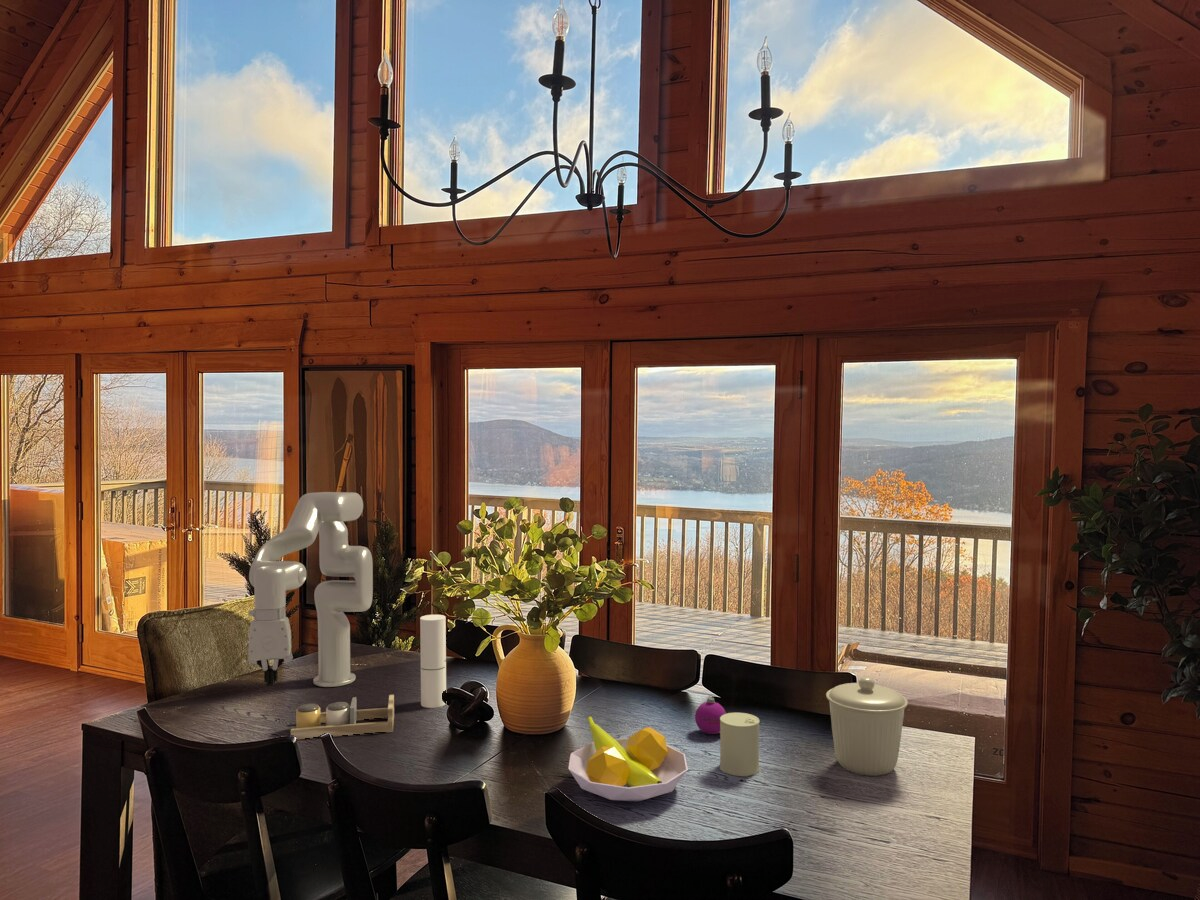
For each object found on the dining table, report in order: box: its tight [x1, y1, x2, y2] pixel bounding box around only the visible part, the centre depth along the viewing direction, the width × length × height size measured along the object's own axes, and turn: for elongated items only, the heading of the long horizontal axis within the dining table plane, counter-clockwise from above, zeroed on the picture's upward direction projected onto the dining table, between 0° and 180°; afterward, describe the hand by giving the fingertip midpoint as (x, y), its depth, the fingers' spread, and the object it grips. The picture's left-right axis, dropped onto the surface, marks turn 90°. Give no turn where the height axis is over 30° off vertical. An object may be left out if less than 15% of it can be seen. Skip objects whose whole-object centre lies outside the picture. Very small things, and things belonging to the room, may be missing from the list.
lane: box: [290, 694, 395, 740], centre depth 217 cm, size 12×25×6 cm, turn 102°
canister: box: [825, 676, 909, 777], centre depth 191 cm, size 18×18×21 cm
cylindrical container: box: [419, 614, 447, 709], centre depth 235 cm, size 7×7×25 cm
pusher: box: [350, 696, 358, 724], centre depth 217 cm, size 9×1×6 cm, turn 12°
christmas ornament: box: [694, 694, 727, 735], centre depth 213 cm, size 8×8×10 cm
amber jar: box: [295, 703, 321, 728], centre depth 215 cm, size 6×6×6 cm
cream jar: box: [325, 701, 351, 726], centre depth 217 cm, size 6×6×6 cm
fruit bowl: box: [568, 716, 689, 802], centre depth 182 cm, size 28×27×11 cm
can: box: [719, 712, 760, 777], centre depth 191 cm, size 9×9×12 cm
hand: (271, 684), depth 213 cm, fingers closed
